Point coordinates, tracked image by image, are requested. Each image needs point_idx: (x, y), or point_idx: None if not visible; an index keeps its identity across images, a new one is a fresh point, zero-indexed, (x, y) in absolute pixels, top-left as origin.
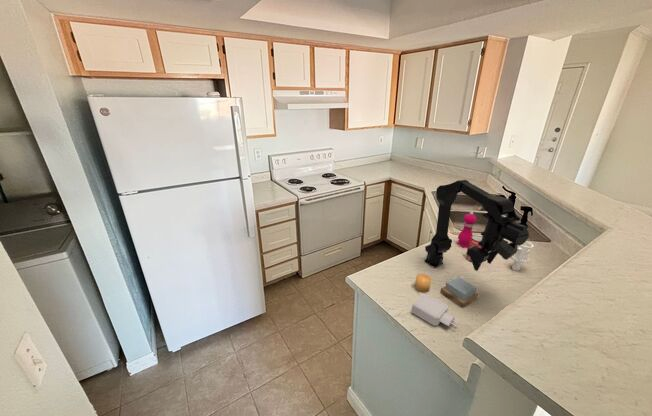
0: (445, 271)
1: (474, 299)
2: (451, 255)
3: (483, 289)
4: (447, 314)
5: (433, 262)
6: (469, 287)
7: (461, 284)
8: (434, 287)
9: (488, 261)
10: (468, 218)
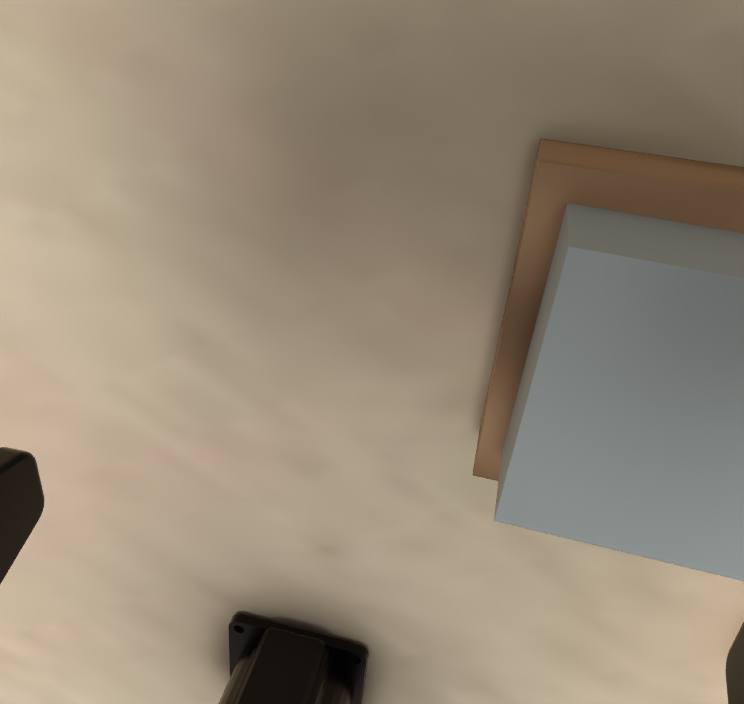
0: (329, 564)
1: (630, 158)
2: (42, 595)
3: (264, 171)
4: None
5: (339, 698)
6: (673, 334)
7: (681, 443)
8: None
9: (7, 532)
10: None
